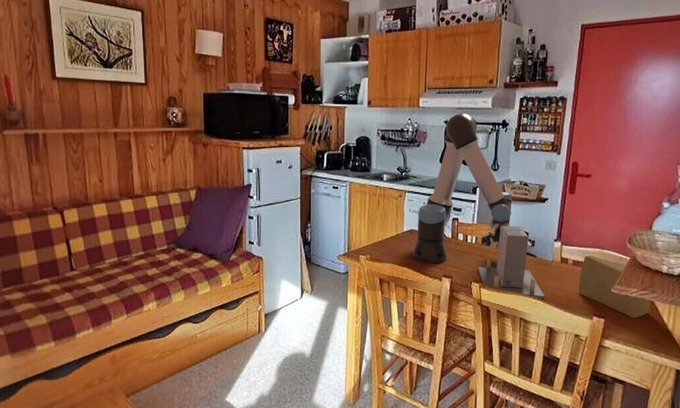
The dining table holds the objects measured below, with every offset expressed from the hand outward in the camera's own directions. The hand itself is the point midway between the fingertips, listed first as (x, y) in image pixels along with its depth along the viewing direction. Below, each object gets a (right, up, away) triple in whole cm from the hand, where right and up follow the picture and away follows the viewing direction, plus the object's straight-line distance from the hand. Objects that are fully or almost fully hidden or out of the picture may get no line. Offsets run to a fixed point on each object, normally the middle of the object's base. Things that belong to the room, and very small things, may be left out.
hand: (511, 247), depth 175 cm
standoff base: (-1, -14, +1) cm, 14 cm away
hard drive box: (-1, -13, +1) cm, 13 cm away
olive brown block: (+28, -19, -16) cm, 37 cm away
